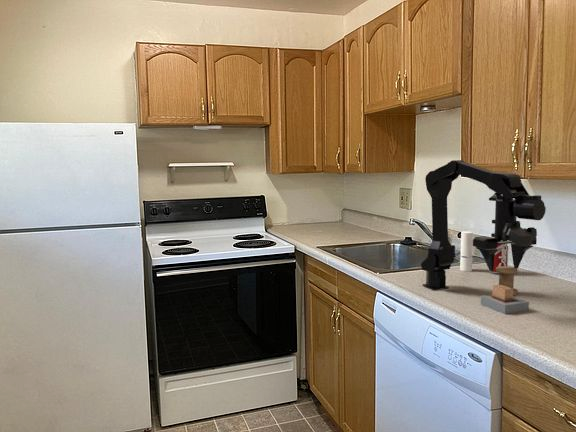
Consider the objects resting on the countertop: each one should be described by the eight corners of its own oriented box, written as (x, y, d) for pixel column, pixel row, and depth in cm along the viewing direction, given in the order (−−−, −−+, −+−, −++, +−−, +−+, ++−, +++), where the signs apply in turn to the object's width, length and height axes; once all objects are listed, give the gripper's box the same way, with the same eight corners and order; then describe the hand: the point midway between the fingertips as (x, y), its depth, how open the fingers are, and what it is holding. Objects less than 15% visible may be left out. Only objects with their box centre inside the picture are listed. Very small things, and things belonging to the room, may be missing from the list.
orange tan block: (491, 304, 148) (492, 285, 147) (499, 303, 149) (500, 284, 148) (504, 309, 143) (504, 289, 142) (512, 308, 144) (513, 288, 143)
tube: (469, 268, 193) (470, 231, 191) (473, 271, 189) (474, 233, 187) (458, 269, 193) (459, 231, 191) (462, 271, 189) (463, 233, 187)
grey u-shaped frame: (480, 304, 148) (480, 296, 148) (503, 301, 151) (503, 293, 151) (504, 313, 139) (505, 305, 139) (528, 310, 142) (528, 301, 142)
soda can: (485, 273, 186) (486, 242, 185) (491, 269, 191) (493, 239, 190) (503, 275, 182) (504, 244, 180) (509, 272, 187) (511, 241, 185)
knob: (489, 290, 162) (490, 267, 161) (506, 288, 165) (507, 265, 164) (505, 296, 156) (506, 271, 155) (522, 294, 158) (523, 269, 157)
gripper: (500, 222, 132) (498, 279, 134) (553, 218, 138) (550, 272, 140) (472, 217, 142) (470, 270, 144) (522, 214, 148) (520, 264, 150)
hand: (503, 269), depth 144 cm, fingers open, 9 cm apart
